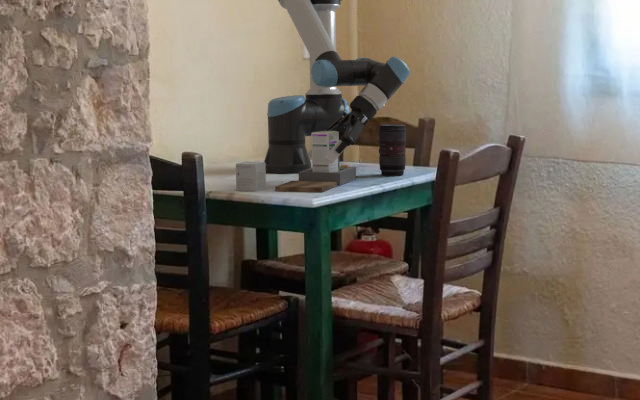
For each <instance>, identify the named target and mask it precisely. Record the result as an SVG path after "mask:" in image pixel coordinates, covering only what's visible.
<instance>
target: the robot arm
mask: <svg viewBox="0 0 640 400" xmlns="http://www.w3.org/2000/svg"><path fill="white" fill-rule="evenodd" d="M277 1H278V3H279V5H280V6H281V7H282V8H283V9H285V10H286V11H287V13H288V15H289V17H290V19H291V21H292V23H293V25H294V27H295V29H296V31H297V32H298V35H299V37H300V40H301V41H302V43H303V44H304V46H305V49H306V50H307V52H308V54H309V89H308V90H307V91H306V92H305V95H302V94H301V95H299V94H298V95H297V94H296V95H288V96H287V95H286V96H280V97H276V98H272V99H271V100H270V101H269V102H268V104H267V130H268V131H267V135H268V136H267V139H268V145H267V146H268V148H267V150H266V155H265V158H264V161H263V162H265V163H266V173H273V174H296V173H298V174H299V172H300V171H303V170H306V169H309V168H312V160H311V159H312V147H311V148H310V149H309V150H308V149H307V147H306V137H311V133H312V132H320V131H338V132H339V135H340V134H342V133H343V132H344V134H343V136H341V137H340V138H339V141H338V142H337V143H336V145H335V146H334V147H333V148H332V149H331V150H330V151H329V153H328V154H327V155H326V156H325V158H326V159H327V160H328V161H329V162H330V163H331V164H333V162H334V161H335V160H336V159H337V158H338V157H339V158H340V155H342V153H344V151H345V150H346V149H347V148H348V147H350V146H353V145H355V143H356V142H357V140H358V139H359V136H360V135H361V134H362V131H363V129H364V128H365V126H366V125H367V123H369V122H371V121H372V119H374V117H375V116H376V115H377V112H379V111H380V110H381V109H382V108H384V107H386V106H385V104H386V103H387V102H388V101H389V100H390V99H391V97H392V96H393V95H395V93H396V92H397V91H398V90H399V88H401V87H402V86H403V84H404V83H405V81H406V80H407V79H408V77H409V76H411V75H410V74H411V70H410V68H409V66H408V65H407V63H406V62H404V61H403V60H402V59H401V58H400V57H397V56H392V57H389V59H387V60H386V62H385V63H384V62H380V61H377V60H373V59H372V58H369V57H359V58H356V59H342V58H341V56H340V54H338V51H337V11H338V9H339V8H340V7H341V1H343V0H277ZM357 86H358V87H360V86H361V87H363V86H364V87H363V88H362V89H361V90H360V91H359V93H358V95H356V96H355V97H354V99H353V100H351V102H350V103H348V102H347V100H346V99H345V98H343V96H342V94H343V93H342V92H341V90H339V88H338V87H357ZM348 104H349V105H348ZM350 109H351V110H350Z"/></svg>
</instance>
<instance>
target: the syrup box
mask: <svg viewBox="0 0 640 400" xmlns="http://www.w3.org/2000/svg"><path fill="white" fill-rule="evenodd" d="M339 135H340V134H339V132H338V131H320V132H312V133H311V136H310V137H311V148H312V158H311V168H312V172H338V171H340V168H339V166H340V156H339V157H338V158H337V159H336V160H335V161H334V162H333V164H331V163H330V162H329V161H328V160H327V159H326V158H325V156H326V155H327V154H328V153H329V151H330V150H331V149H332V148H333V147H334V146H335V145H336V143H337V142H338V141H339V140H340V138H339V137H340V136H339Z"/></svg>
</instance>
